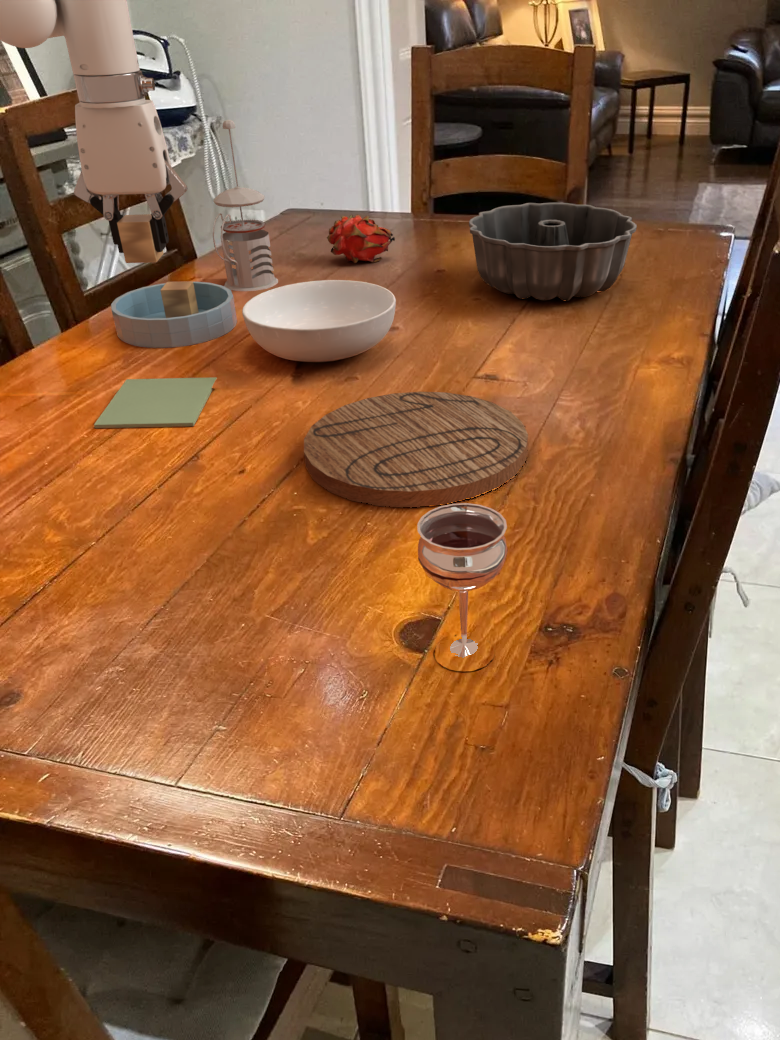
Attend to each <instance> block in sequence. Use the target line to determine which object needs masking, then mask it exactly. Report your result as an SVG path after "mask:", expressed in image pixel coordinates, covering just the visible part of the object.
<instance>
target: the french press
mask: <svg viewBox="0 0 780 1040" xmlns="http://www.w3.org/2000/svg"><path fill="white" fill-rule="evenodd" d="M222 129H223V130H228V134H229V135H228V136H229V141H230V148H231V155H232V156H231V157H232V163H233V170H234V176H235V183H236V186H235V187H232V188H228V189H225V190H224V191H222V192H219V194H218V195H216V196H215V198H214V199H213V203H214V204H215V205H216V206H218V207H222V208H239V211H240V219H235V220H232V217H231V214H230V213H228V214H226V215H225V216H224V217H223V213H222V212H220V213H218V214H217V215H216V217H215V218H214V222H213V226H212V242H213V247H214V249H215V252H216V254H217V256H218V257H219V258H220V259H221V260H222V261H223V263H224V269H225V274H226V281H225V282H224V285H223V286H224V287H226V288H228V289H230V290H231V291H235V292H255V291H262V290H267V289H270V288H272V287H275V286H276V285H277V284H278V283H279V279H278V278H277V277H275V274H274V273H273V272H274V266H273V265H272V264H273V258H272V257H271V256H272V251H271V249H270V248H271V242H270V233H269V232H268V231H267V230H264V229H265V227H266V223H265V222H264V221H263V220H260V219H253V218H252V219H250V218H249V219H246V218H245V219H244V216H243V211H242V208H243V207H249V206H255V205H258V204H260V203H262V202H264V200H265V198H266V197H265V195H264V194H263V193H261V192H259V191H258V190H257V189H256V190H255V189H253V188H249V187H242V186H239V182H238V175H237V169H236V162H235V154H234V146H233V140H232V132H231V130H233V129H236V124H235V122H234V121H233V120H232V119H226V120H224V121H223V123H222ZM219 217H220V219H221V221H222V225H221V226H220V243H221V250H222V255H221V254H220V252H219V249H218V248H217V244H216V239H215V229H216V223H217V221H218V218H219ZM227 218H229V221H228V220H227ZM229 242H231V244H229ZM230 250H232V251H233V252H231V251H230ZM222 256H223V257H222ZM232 258H233V259H232ZM233 266H235V267H233Z"/></svg>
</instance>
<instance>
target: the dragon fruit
mask: <svg viewBox="0 0 780 1040" xmlns="http://www.w3.org/2000/svg"><path fill="white" fill-rule="evenodd" d="M326 239H327V241H328V242H329V244H331V245H332V247H331V248H330V253H332V254H333V255H334V256H340V255H344V256H345V257H344V258H345V261H346V262H353V264H357V263H358V262H359V261H363V262H364V261H365V262H370V263H377V262H379V261H381V260H383V257H381V256H380V257H376V256H377V255H381V254H382V253H384V252H389V246H390V244H392V242H395V240H396V238H395V236H394V234H393V233H392V232H391V230H390V229H388V228H385V227H381V226H379V225H378V224H376V221H375V220H374V219H371V218H370V216H369V215H365V216H364V217H363V218H362V216H361V215H360V214H355V216H353V214H351V215H348V216H345V215H342V216H340V219H337V220H334V222H333V225H332V226H331V227H330V228H328V235H327V237H326ZM375 257H376V258H375Z"/></svg>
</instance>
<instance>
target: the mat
mask: <svg viewBox="0 0 780 1040" xmlns="http://www.w3.org/2000/svg"><path fill="white" fill-rule="evenodd" d="M217 379H218V378H217V377H215V376H213V377H211V376H210V377H209V376H208V377H168V378H167V377H165V378H160V377H159V378H127V379H125V381H124V382H123V383H122V384H121V386H120V388H119V389H118V391H117V392H116V393H115V394H114V396H113V397H112V398H111V400H110V401H109V403H108V405H107V406H106V407H105V409H104V410H103V411H102V413H101V414H100V416H99V417H98V418H97V420H96V421H95V422H94V424H93V428H94V429H129V428H133V429H134V428H135V429H136V428H175V427H179V428H180V427H182V428H183V427H194V426H195V425H196V423H197V422H198V419H199V417H200V415H201V413H202V412H203V409H204V408H205V405H206V404H207V401H208V400H209V398H210V396H211V394H212V393H213V390H214V387H213V386H214V384H215V382H216V381H217Z"/></svg>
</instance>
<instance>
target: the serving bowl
mask: <svg viewBox="0 0 780 1040" xmlns="http://www.w3.org/2000/svg"><path fill="white" fill-rule="evenodd" d="M396 306H397V299H396V296H395V295H394V294H393V292H392V291H391V290H389V289H387V288H386V287H384V286H381V285H378V284H376V283H371V282H366V281H361V280H348V279H321V280H311V281H310V280H309V281H302V282H296V283H290V284H285V285H282V286H279V287H274V288H271V289H269V290H265V291H263V292H261V293H259V294H257V295H255V296H253V297H252V298H250V299H249V300H247V302H246V303H245V304H243V307H242V310H241V314H242V318H243V320H244V324H245V326H246V329H247V332H248V333H249V334H250V336H251V337H252V339H253V340H254V342H255V343H256V344H257V345H258V346H259V347H261V348H262V349H263V350H265V351H266V352H268V353H270V354H272V355H274V356H276V357H278V358H282V359H285V360H290V361H295V362H303V363H328V362H334V361H339V360H345V359H349V358H352V357H355V356H358V355H361V354H363V353H365V352H368V351H369V350H371V349H372V348H374V347H375V346H377V345H378V344H379V343H380V342H382V340H383V339H384V338H385V337H386V336H387V334H388V333H389V331H390V330H391V327H392V325H393V324H394V323H393V322H394V319H395V314H396Z"/></svg>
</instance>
